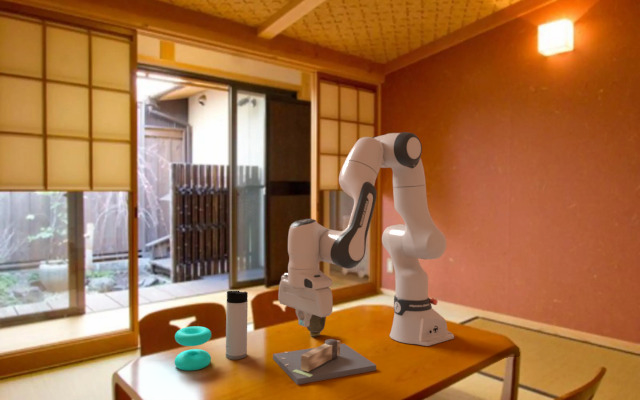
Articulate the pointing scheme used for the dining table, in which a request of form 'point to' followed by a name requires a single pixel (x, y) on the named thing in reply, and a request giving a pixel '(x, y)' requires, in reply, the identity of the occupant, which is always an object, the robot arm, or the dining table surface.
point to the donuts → (192, 357)
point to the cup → (316, 325)
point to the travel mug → (236, 324)
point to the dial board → (324, 365)
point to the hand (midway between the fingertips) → (303, 325)
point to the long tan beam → (320, 355)
